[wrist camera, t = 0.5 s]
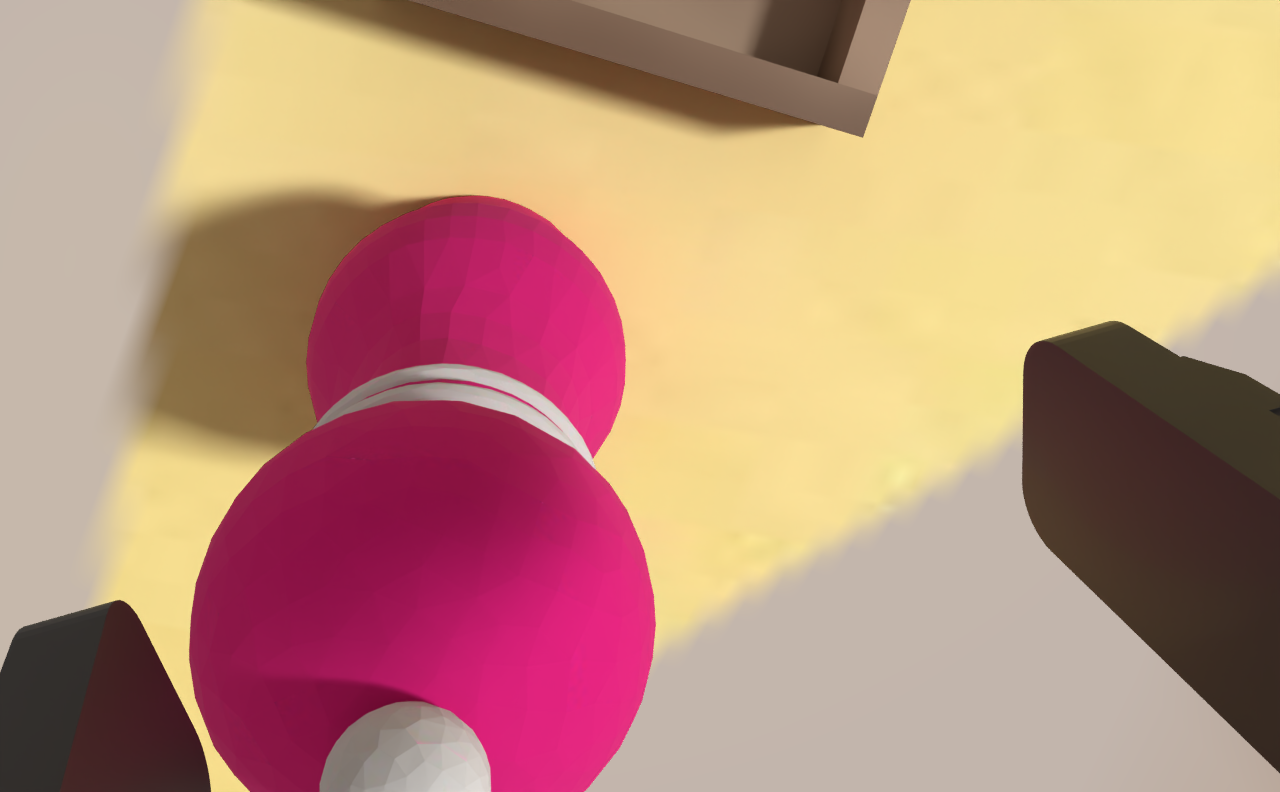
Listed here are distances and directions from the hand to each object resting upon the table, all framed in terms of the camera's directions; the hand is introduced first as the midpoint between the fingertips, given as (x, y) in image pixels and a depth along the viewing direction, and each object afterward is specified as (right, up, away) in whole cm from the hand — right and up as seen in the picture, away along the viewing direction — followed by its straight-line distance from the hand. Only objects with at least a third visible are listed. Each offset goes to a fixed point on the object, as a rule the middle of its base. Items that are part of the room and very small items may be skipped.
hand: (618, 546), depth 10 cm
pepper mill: (-4, +4, +20) cm, 21 cm away
